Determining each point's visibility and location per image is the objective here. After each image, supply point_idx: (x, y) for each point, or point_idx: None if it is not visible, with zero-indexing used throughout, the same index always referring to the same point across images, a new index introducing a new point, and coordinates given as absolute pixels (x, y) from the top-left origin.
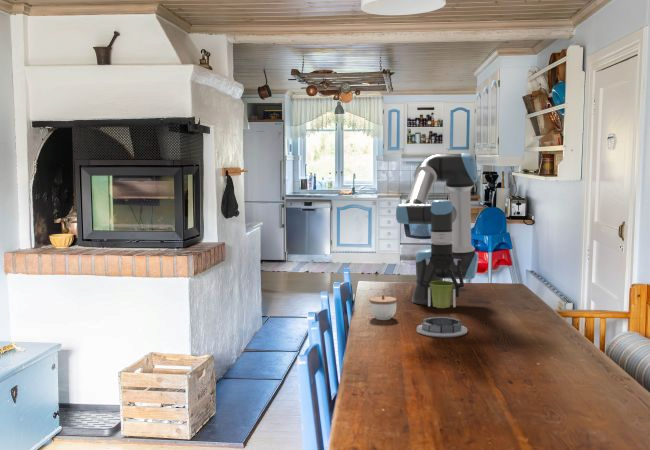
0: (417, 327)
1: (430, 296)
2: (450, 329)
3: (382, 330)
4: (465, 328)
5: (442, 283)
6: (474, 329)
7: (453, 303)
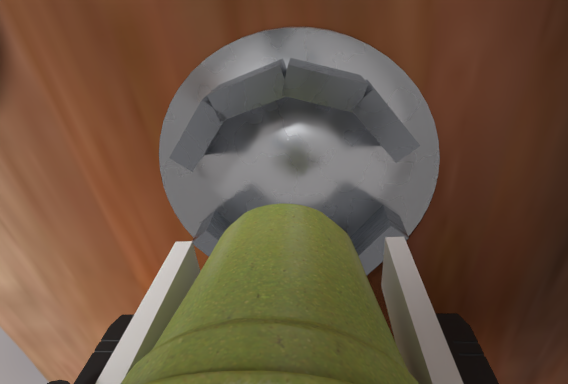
0: (166, 182)
1: (165, 295)
2: None
3: (21, 206)
4: (430, 160)
5: (256, 356)
6: (488, 99)
7: (388, 307)
